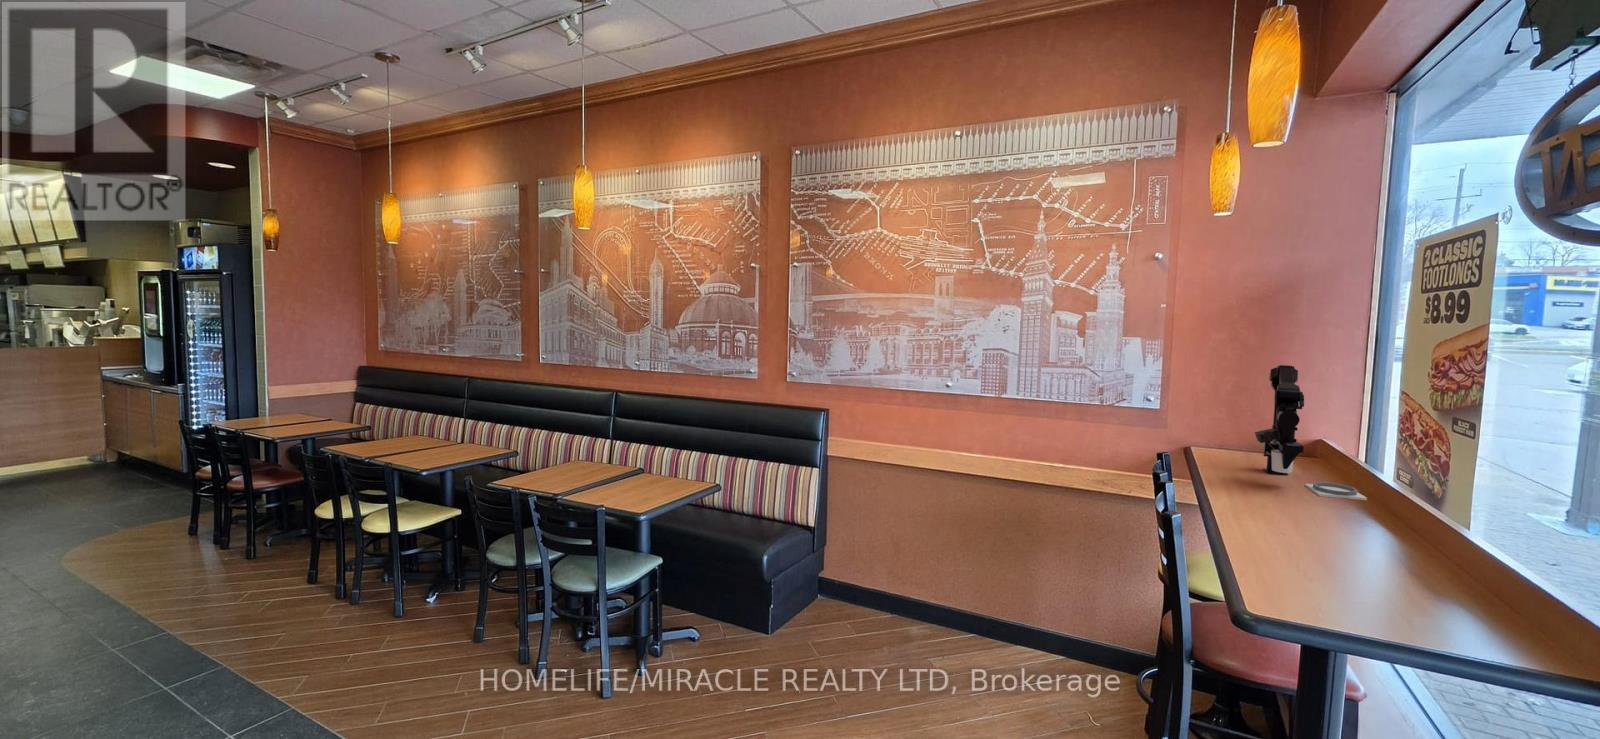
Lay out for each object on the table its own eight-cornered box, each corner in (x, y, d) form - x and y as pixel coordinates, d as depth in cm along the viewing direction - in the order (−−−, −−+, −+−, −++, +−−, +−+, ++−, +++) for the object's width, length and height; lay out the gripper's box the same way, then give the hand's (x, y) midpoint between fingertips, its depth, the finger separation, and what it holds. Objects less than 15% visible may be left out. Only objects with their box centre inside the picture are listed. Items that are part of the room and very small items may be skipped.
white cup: (1298, 473, 229) (1300, 453, 228) (1278, 473, 229) (1280, 453, 228) (1284, 468, 236) (1286, 449, 235) (1264, 468, 236) (1266, 449, 235)
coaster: (1304, 485, 234) (1305, 480, 234) (1349, 489, 230) (1349, 483, 230) (1319, 496, 222) (1320, 490, 222) (1366, 500, 218) (1367, 494, 218)
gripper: (1250, 417, 242) (1247, 458, 244) (1267, 426, 224) (1263, 471, 226) (1286, 418, 238) (1282, 461, 240) (1306, 428, 221) (1302, 474, 222)
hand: (1281, 466), depth 232 cm, fingers closed on white cup, 6 cm apart
